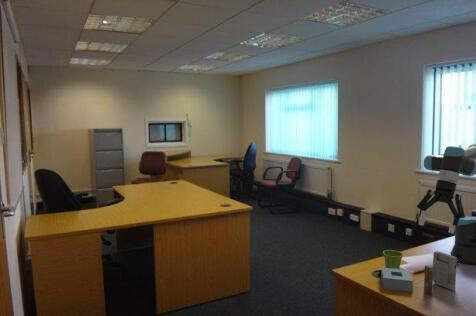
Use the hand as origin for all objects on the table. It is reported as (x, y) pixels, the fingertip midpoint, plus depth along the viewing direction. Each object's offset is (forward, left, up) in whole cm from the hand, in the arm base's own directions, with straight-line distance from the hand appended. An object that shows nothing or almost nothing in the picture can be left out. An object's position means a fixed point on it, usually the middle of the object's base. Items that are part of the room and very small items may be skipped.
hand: (435, 229), depth 157 cm
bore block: (+15, -2, -28) cm, 32 cm away
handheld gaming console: (-5, -6, -28) cm, 29 cm away
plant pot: (+15, -19, -28) cm, 37 cm away
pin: (+3, +4, -28) cm, 28 cm away
